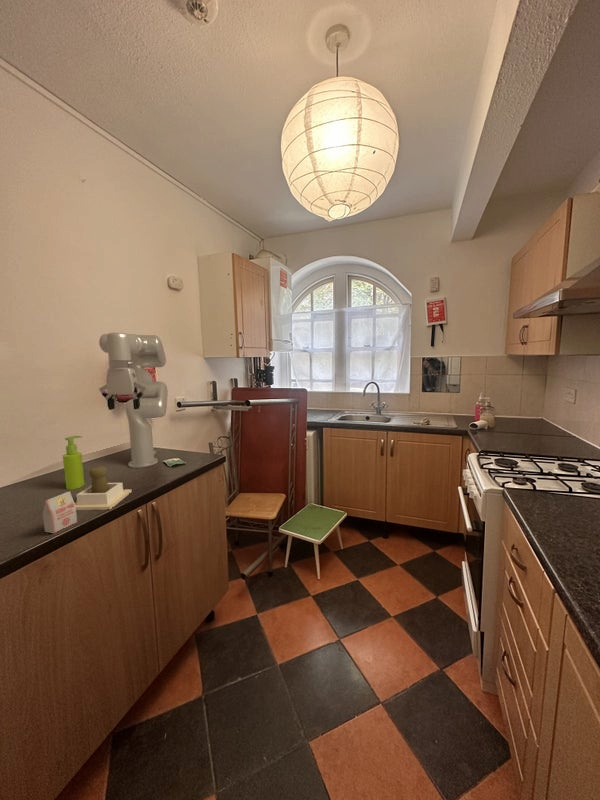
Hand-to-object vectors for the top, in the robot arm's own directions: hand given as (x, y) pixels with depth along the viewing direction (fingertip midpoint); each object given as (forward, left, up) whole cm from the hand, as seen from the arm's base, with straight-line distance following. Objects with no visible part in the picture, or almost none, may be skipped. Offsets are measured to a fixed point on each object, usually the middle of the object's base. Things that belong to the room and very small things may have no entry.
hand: (124, 409), depth 123 cm
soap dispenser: (+2, -20, -31) cm, 37 cm away
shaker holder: (+16, -2, -30) cm, 34 cm away
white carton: (+34, -3, -31) cm, 46 cm away
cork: (+16, -2, -30) cm, 34 cm away
